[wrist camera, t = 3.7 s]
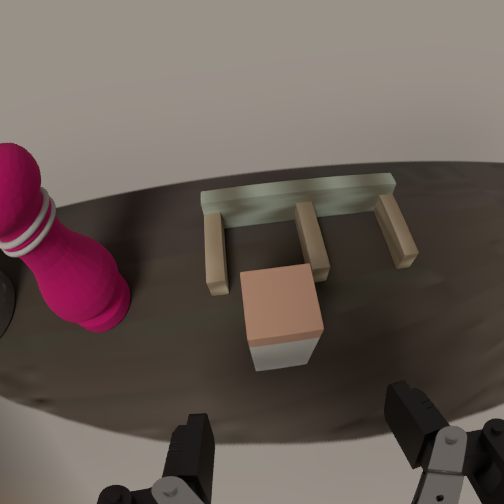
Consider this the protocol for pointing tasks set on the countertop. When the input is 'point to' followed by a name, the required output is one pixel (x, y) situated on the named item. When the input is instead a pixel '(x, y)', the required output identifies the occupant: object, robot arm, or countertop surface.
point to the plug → (281, 315)
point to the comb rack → (302, 217)
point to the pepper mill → (57, 249)
